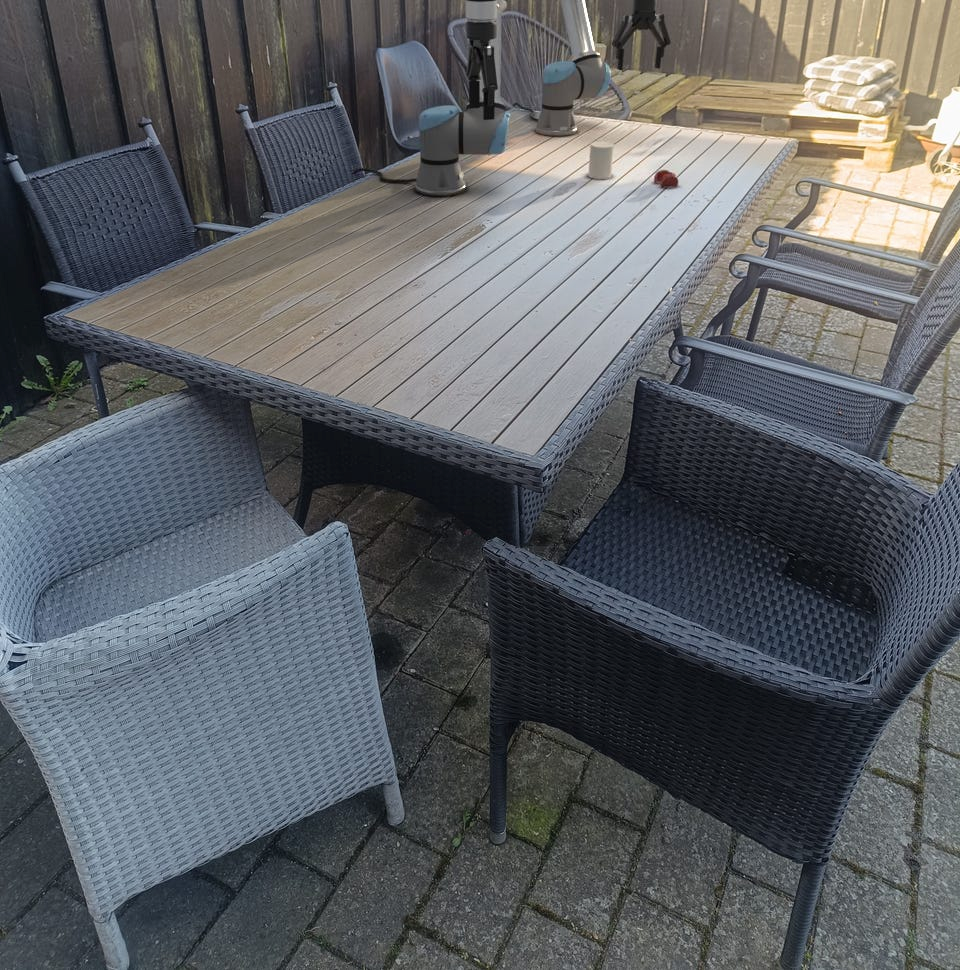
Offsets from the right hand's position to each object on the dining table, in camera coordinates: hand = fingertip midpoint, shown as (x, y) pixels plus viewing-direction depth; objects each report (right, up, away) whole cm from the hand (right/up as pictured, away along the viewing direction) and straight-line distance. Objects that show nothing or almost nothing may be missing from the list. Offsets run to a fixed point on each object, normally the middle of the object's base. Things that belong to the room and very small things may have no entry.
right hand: (638, 69), depth 289 cm
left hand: (-54, -47, -72) cm, 102 cm away
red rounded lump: (+3, -49, -26) cm, 56 cm away
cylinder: (-16, -44, -19) cm, 50 cm away
